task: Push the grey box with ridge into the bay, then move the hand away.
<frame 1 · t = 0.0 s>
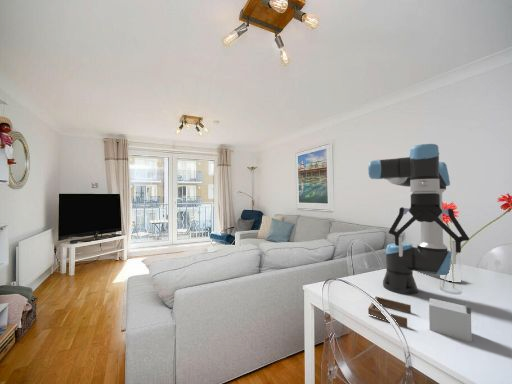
hand: (425, 259, 72), 28 cm above the table, tool pointing down, fingers open, 13 cm apart
bay: (391, 314, 92), on the table
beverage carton: (436, 276, 136), on the table
grey box with ridge: (449, 331, 81), on the table
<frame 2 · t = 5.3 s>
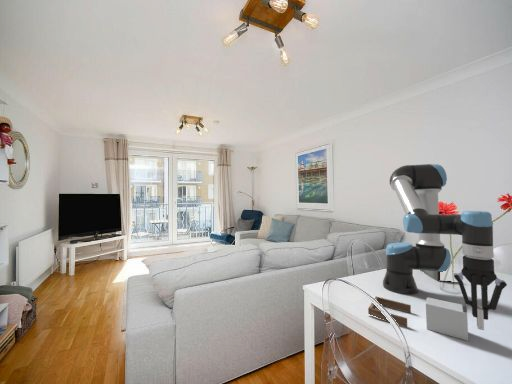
hand: (480, 327, 76), 4 cm above the table, tool pointing down, fingers closed
grey box with ridge: (446, 330, 81), on the table, touching gripper
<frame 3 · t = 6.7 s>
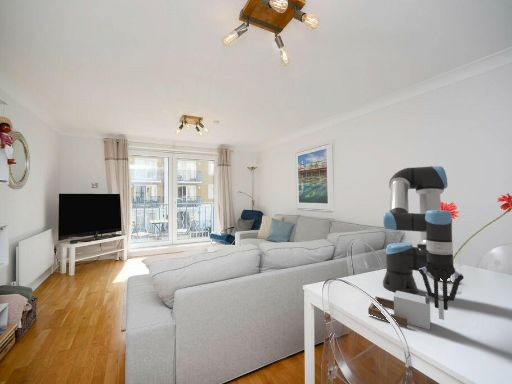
hand: (441, 317, 82), 4 cm above the table, tool pointing down, fingers closed
grey box with ridge: (412, 320, 87), on the table, touching gripper
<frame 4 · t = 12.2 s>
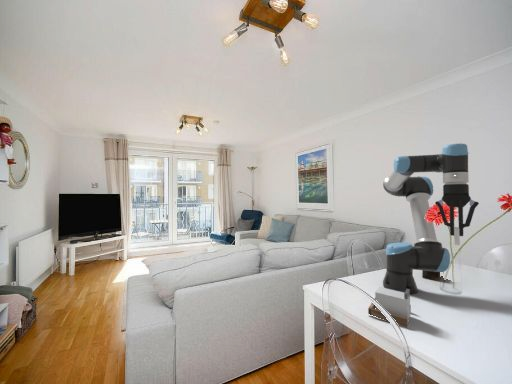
hand: (456, 244, 88), 29 cm above the table, tool pointing down, fingers closed
grey box with ridge: (392, 315, 92), on the table
at the end: grey box with ridge inside the target area (0.9 cm from its centre), on the table; grey box with ridge tilted 0°; grey box with ridge moved 17.4 cm from its start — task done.
